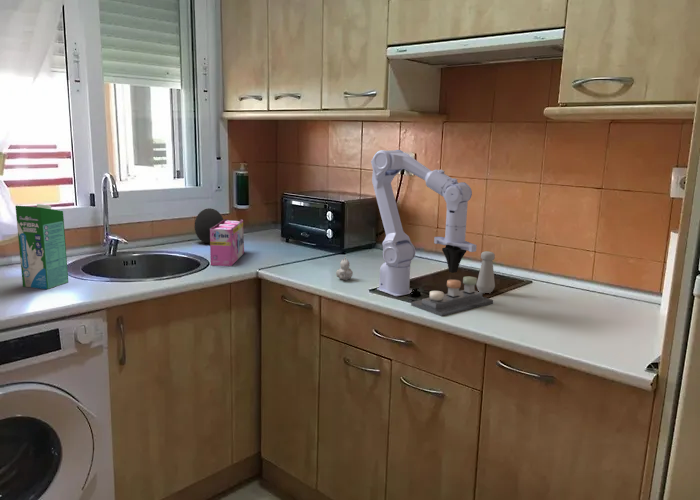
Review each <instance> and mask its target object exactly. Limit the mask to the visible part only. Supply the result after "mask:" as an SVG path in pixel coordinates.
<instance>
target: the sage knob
mask: <svg viewBox="0 0 700 500" xmlns="http://www.w3.org/2000/svg"><path fill="white" fill-rule="evenodd" d="M477 280H478V277H476V276H469V275H468V276H463V278H462V284H463V290H464V292H468V293H472V292H474V290H475V291H476V289H475V287H476V286H477V285H476V284H477Z"/></svg>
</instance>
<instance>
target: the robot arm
mask: <svg viewBox="0 0 700 500" xmlns="http://www.w3.org/2000/svg"><path fill="white" fill-rule="evenodd" d="M370 163H371V168H372V175H371V176H372V177H371V183H372V186H373V192H374V194H375V197H376V198H375V199H376V203H377V206H378V209H379V213H380V217H381V220H382V221H381V222H382V225H383V228H384V229H383V230H384V232H385V237H384V240H383V241H382V243H381V244H382V258H383V260H384V262H383V263H382V264H381V265H380V268H379V277H378V278H379V279H378V281H379V282H378V284H379V286H378V287H377V288H376V290H377V291H380V292H383V293H386V294H389V295H391V296H394V297H400V296H405V295H411V294H412V293H411V291H412V290H413V289H411V288H410V281H411V277H410V276H411V264H412V261H413V259H415V257H416V248H415V246H414V244H413V243H412V241H411V238H410V235H408V234H407V233H405V231H404V228H403V225H402V222H401V217H400V214H399V209H398V205H397V201H396V198H395V195H394V190H393V186H392V181H393V180H394V178H395V177H396V176H397V175H398V174H399V173H400V172H401V171H403V170H405V171H407V172H408V173H409V174H412V175H414V176H416V177H418V178H420V179H422V180H424V181H425V186H426V187H427V188H429V189H431V190H432V191H433V192H435V193H436V194H438V195H440V196H441V197H443V199H444V201H445V204H446V207H445V209H446V212H445V213H446V214H445V215H446V216H445V218H446V219H445V233H444V234H445V235H444V236H434V239H433V241H434V242H433V243H434V244H435V245H438V244H439V245H443V246H445V247H441V248H442V249H441V250H442V252H443V255H444V256H445V260H446V263H447V268H448V272H449V273H452V274H453V273H457V272H458V270H459V266H460V263H461V261H462V259H463V257H464V256H465V254H466V253H467V251H468V252H470V253H474V252H477V247H478V246H477V244H475V243H471V242H469V241H466V234H467V216H468V202H469V201H470V200H471V198H472V196H473V192H472V188H471V186H470V185H469V184H468V183H466V182H463V181H462V182H458V178H452V177H450V176H449V175H448V174H446V173H445V170H443V169H434V170H431V169H430V168H429V167H426V166H425V165H423V164H422V163H421V162H420V161H418V160H417V159H415V158H414V157H412V156H411V155H410V154H409V153H407V152H404V151H403V150H402V149H393V150H386V149H385V150H384V149H381V150H378V151H377V152H376V153H375V154H374V155H373V157H372V159H371V160H370ZM410 293H411V294H410Z"/></svg>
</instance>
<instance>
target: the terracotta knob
mask: <svg viewBox="0 0 700 500" xmlns="http://www.w3.org/2000/svg"><path fill="white" fill-rule="evenodd" d="M461 286H462V281H461V280H459V279H447V281H446V288H447V293H448V295H450V296H453V297H454V296H459V291H460V288H461Z"/></svg>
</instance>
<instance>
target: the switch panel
mask: <svg viewBox="0 0 700 500" xmlns="http://www.w3.org/2000/svg"><path fill="white" fill-rule="evenodd" d="M483 294H484V293H481V292H478V290H476V289H475V290H474V292H472V293H468V292H464V289H460V290H459V296H454V297H453V296H450V295H448V292H447V293H444V299H442V301H438V302H436V301H433V300H431V299H430V298H429V297H426V298H422V299H419V300H414V301H411V305H410V306H413V307H414V308H417V309H420V310H422V311H426V312H429V313H431V314H434V315H437V316H440V317H445V316H448V315H452V314H456V313H461V312H463V311H464V312H465V311H468V310H473V309H476V308H480V307H484V306H488V305H492V304H493V303H494V300H493V299H490V298H488V297H484V296H483Z"/></svg>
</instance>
